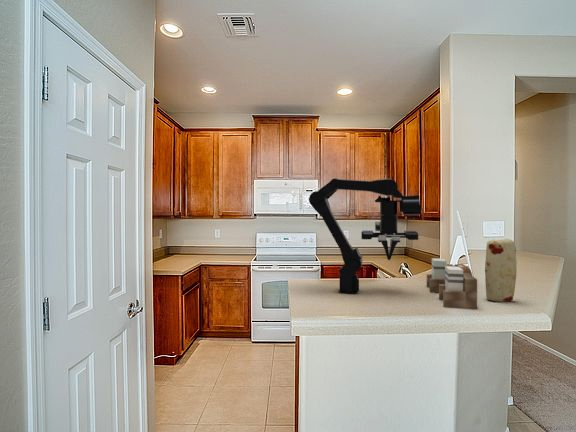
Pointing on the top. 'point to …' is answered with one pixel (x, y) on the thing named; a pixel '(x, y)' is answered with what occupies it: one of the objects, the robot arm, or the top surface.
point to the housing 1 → (435, 282)
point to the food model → (500, 270)
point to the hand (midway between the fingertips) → (388, 259)
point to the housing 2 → (460, 294)
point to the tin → (464, 268)
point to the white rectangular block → (454, 278)
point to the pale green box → (438, 268)
